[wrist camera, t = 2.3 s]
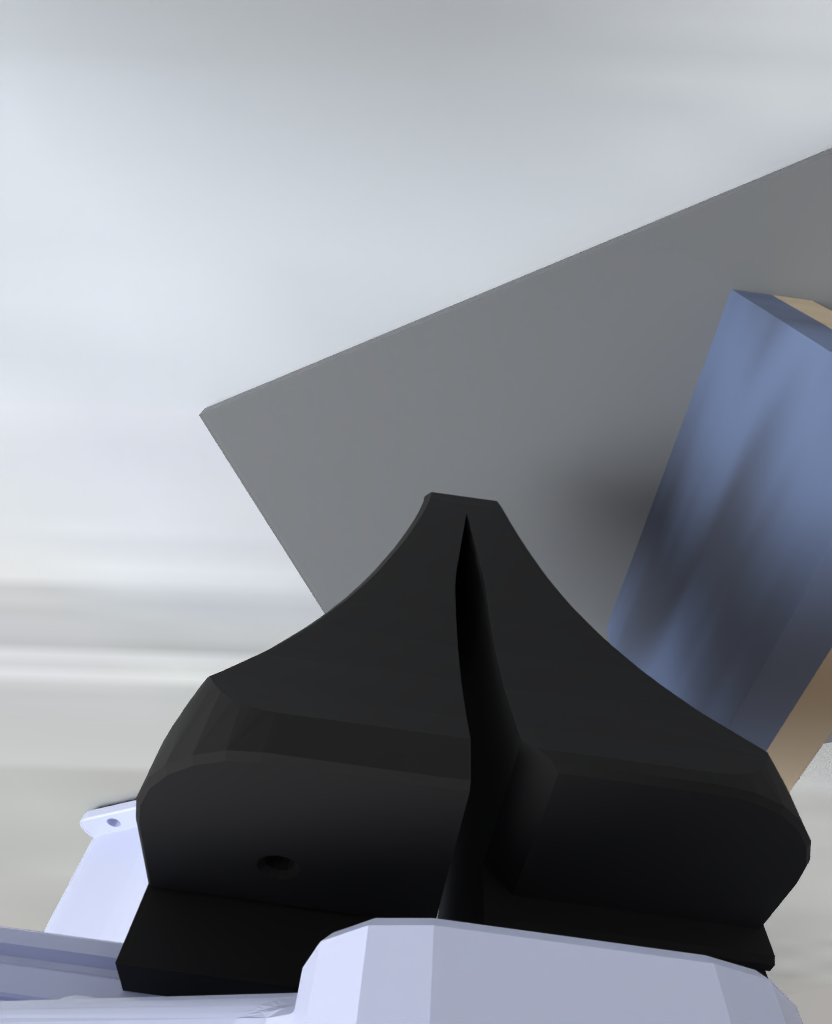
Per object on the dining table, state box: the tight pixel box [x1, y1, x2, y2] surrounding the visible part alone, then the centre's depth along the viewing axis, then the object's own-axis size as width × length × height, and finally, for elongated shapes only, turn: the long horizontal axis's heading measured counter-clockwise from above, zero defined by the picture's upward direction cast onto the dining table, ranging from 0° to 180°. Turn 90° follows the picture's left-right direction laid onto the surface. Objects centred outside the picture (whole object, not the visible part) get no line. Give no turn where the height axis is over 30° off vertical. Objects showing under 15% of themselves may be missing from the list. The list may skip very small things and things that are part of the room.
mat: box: [199, 148, 832, 743], centre depth 16 cm, size 20×16×1 cm
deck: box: [606, 289, 832, 792], centre depth 12 cm, size 9×2×6 cm, turn 173°
